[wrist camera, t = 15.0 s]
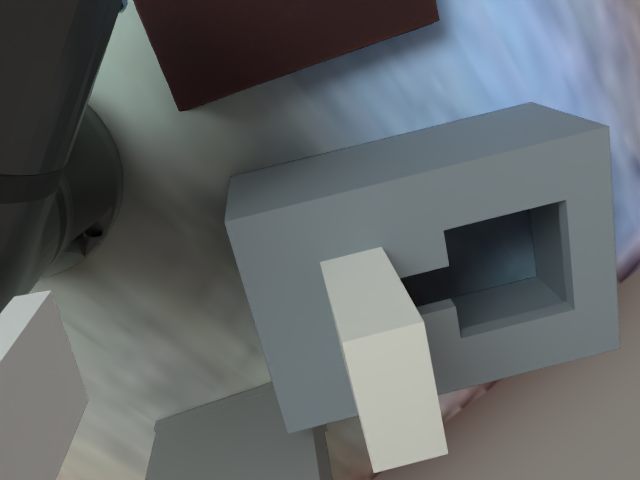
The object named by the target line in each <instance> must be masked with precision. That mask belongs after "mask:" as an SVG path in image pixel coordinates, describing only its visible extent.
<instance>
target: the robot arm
mask: <svg viewBox="0 0 640 480" xmlns="http://www.w3.org/2000/svg"><path fill="white" fill-rule="evenodd" d="M126 6H127V0H0V480H56V478H57V476H58V473H59V471H60V468H61V466H62V463H63V461H64V459H65V456H66V454H67V451H68V449H69V446H70V444H71V442H72V439H73V437H74V434H75V432H76V430H77V427H78V425H79V422H80V420H81V417H82V415H83V413H84V410H85V408H86V405H87V403H88V401H89V399H88V397H87V394H86V391H85V388H84V385H83V382H82V379H81V376H80V373H79V370H78V367H77V364H76V361H75V358H74V355H73V352H72V349H71V346H70V343H69V341H68V338H67V335H66V332H65V329H64V326H63V323H62V320H61V317H60V314H59V311H58V308H57V305H56V302H55V299H54V296H53V293H52V290H49V291H43V292H38V293H32V294H28V293H29V292H30V291H31V289H32V288H33V287H34V286H35V284H36V283H37V282H38V280H39V279H41V278H45V277H48V276H52V275H55V274H57V273H60V272H63V271H65V270H67V269H69V268H71V267H73V266H74V265H76V264H77V263H79V262H80V261H82V260H83V259H84V258H86V257H87V256H88V255H89V254H90V253H91V252H93V251H94V249H95V248H96V247H97V246H98V245H99V244H100V242H101V241H102V240H103V238H104V237H105V235H106V234H107V232H108V231H109V229H110V228H111V226H112V224H113V223H114V221H115V218H116V216H117V214H118V211H119V208H120V204H121V199H122V193H123V173H122V166H121V162H120V157H119V154H118V151H117V148H116V146H115V143H114V141H113V139H112V137H111V135H110V133H109V132H108V130H107V128H106V127H105V125H104V124H103V122H102V121H101V120H100V118H99V117H98V116H97V115H96V114H95V112H94V111H93V110H92V109H91V108H90V107H89V106H88V105H87V104H88V101H89V98H90V95H91V92H92V89H93V86H94V83H95V80H96V77H97V74H98V71H99V69H100V66H101V63H102V60H103V57H104V54H105V51H106V48H107V45H108V42H109V39H110V36H111V33H112V30H113V27H114V25H115V22H116V19H117V16H118V13H119V12H120V13H121V12H123V11H124V10H125V9H126Z"/></svg>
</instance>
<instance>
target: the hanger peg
mask: <svg viewBox="0 0 640 480" xmlns="http://www.w3.org/2000/svg"><path fill="white" fill-rule="evenodd" d="M320 265H321V269H322V273H323V277H324V282H325V286H326V290H327V294H328V298H329V302H330V306H331V310H332V314H333V318H334V322H335V326H336V330H337V334H338V338H339V342H340V347H341V351H342V355H343V359H344V363H345V367H346V371H347V374H348V378H349V382H350V386H351V389H352V393H353V397H354V401H355V404H356V408H357V412H358V416H359V419H360V423H361V427H362V431H363V434H364V438H365V442H366V446H367V449H368V453H369V457H370V461H371V464H372V468H373V472H374V473H376V472H380V471H384V470H388V469H392V468H396V467H399V466H403V465H407V464H411V463H415V462H419V461H423V460H427V459H430V458H434V457H438V456H442V455H445V454H448V450H447V444H446V439H445V433H444V428H443V422H442V417H441V412H440V406H439V401H438V395H437V390H436V384H435V379H434V374H433V368H432V363H431V357H430V352H429V346H428V341H427V336H426V330H425V325H424V321H423V319H422V317H421V316H420V314H419V312H418V310H417V309H416V307H415V305H414V303H413V301H412V300H411V298H410V296H409V294H408V293H407V291H406V289H405V287H404V285H403V284H402V282H401V280H400V278H399V277H398V275H397V273H396V271H395V269H394V268H393V266H392V264H391V262H390V260H389V259H388V257H387V255H386V253H385V252H384V250H383V248H382V247H378V248H374V249H370V250H366V251H362V252H358V253H354V254H350V255H346V256H343V257H339V258H335V259H331V260H327V261H323V262H320Z"/></svg>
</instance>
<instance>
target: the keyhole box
mask: <svg viewBox="0 0 640 480" xmlns="http://www.w3.org/2000/svg"><path fill="white" fill-rule="evenodd" d="M527 209H530V219H531V228H532V238H533V248H534V257H535V267H536V277H532V278H528V279H525V280H521V281H517V282H513V283H509V284H505V285H501V286H497V287H493V288H489V289H485V290H481V291H477V292H473V293H469V294H465V295H461V296H457V297H453V298H450V299H446V300H442V301H438V302H434V303H430V304H426V305H422V306H418V307H416V309H417V310H418V312H419V314H420V316H421V317H422V319H423V321H424V325H425V330H426V336H427V341H428V346H429V352H430V357H431V363H432V368H433V374H434V379H435V384H436V390H437V395H440V394H444V393H448V392H452V391H456V390H460V389H464V388H468V387H472V386H476V385H479V384H483V383H487V382H491V381H495V380H499V379H503V378H507V377H511V376H514V375H518V374H522V373H526V372H530V371H534V370H538V369H542V368H546V367H549V366H554V365H557V364H561V363H565V362H569V361H573V360H577V359H581V358H585V357H588V356H593V355H596V354H600V353H604V352H608V351H612V350H616V349H620V339H619V338H620V337H619V317H618V299H617V298H618V297H617V277H616V257H615V237H614V217H613V197H612V177H611V156H610V136H609V126H606V125H603V124H600V123H597V122H593V121H590V120H587V119H584V118H581V117H577V116H574V115H571V114H568V113H564V112H561V111H558V110H555V109H552V108H548V107H545V106H542V105H539V104H535V103H532V102H530V103H526V104H522V105H518V106H514V107H510V108H506V109H502V110H498V111H494V112H490V113H485V114H481V115H477V116H473V117H469V118H465V119H461V120H457V121H453V122H449V123H445V124H441V125H437V126H433V127H429V128H425V129H421V130H417V131H413V132H409V133H405V134H401V135H397V136H393V137H388V138H384V139H380V140H376V141H372V142H368V143H364V144H360V145H356V146H352V147H348V148H344V149H340V150H336V151H332V152H328V153H324V154H320V155H316V156H312V157H308V158H304V159H300V160H296V161H291V162H287V163H283V164H279V165H275V166H271V167H267V168H263V169H259V170H255V171H251V172H247V173H243V174H239V175H235V176H231V177H230V182H229V190H228V197H227V205H226V212H225V220H224V223H225V226H226V230H227V233H228V236H229V240H230V243H231V246H232V250H233V253H234V256H235V260H236V263H237V266H238V270H239V273H240V276H241V280H242V283H243V286H244V289H245V293H246V296H247V299H248V303H249V306H250V309H251V313H252V316H253V319H254V323H255V326H256V329H257V333H258V336H259V339H260V343H261V346H262V349H263V353H264V356H265V359H266V362H267V366H268V369H269V372H270V376H271V379H272V382H273V386H274V389H275V392H276V396H277V399H278V402H279V406H280V409H281V412H282V416H283V419H284V422H285V426H286V429H287V432H288V433H292V432H296V431H300V430H304V429H308V428H312V427H316V426H319V425H323V424H327V423H331V422H335V421H339V420H343V419H347V418H351V417H355V416H358V412H357V408H356V404H355V401H354V397H353V393H352V389H351V386H350V382H349V378H348V374H347V371H346V367H345V363H344V359H343V355H342V351H341V347H340V342H339V338H338V334H337V330H336V326H335V322H334V318H333V314H332V310H331V306H330V302H329V298H328V294H327V290H326V286H325V282H324V277H323V273H322V269H321V265H320V262H323V261H327V260H331V259H335V258H339V257H343V256H346V255H350V254H354V253H358V252H362V251H366V250H370V249H374V248H378V247H382V248H383V250H384V252H385V253H386V255H387V257H388V259H389V260H390V262H391V264H392V266H393V268H394V269H395V271H396V273H397V275H398V277H399V278H403V277H407V276H411V275H415V274H419V273H423V272H427V271H431V270H435V269H439V268H443V267H447V266H449V261H448V255H447V249H446V243H445V236H444V230H447V229H451V228H455V227H459V226H463V225H467V224H471V223H475V222H479V221H483V220H487V219H491V218H495V217H499V216H503V215H507V214H511V213H515V212H519V211H523V210H527Z"/></svg>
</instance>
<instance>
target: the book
mask: <svg viewBox="0 0 640 480" xmlns="http://www.w3.org/2000/svg"><path fill="white" fill-rule="evenodd" d="M133 1H134V4H135V7H136V10H137V12H138V14H139V16H140V19H141V21H142V23H143V26H144V28H145V31H146V33H147V36H148V38H149V41H150V43H151V46H152V48H153V50H154V52H155V54H156V57H157V59H158V62H159V64H160V67H161V69H162V72H163V74H164V76H165V78H166V81H167V83H168V85H169V88H170V90H171V93H172V95H173V98H174V101H175V103H176V105H177V108H178V110H179V111H187V110H190V109H193V108H195V107H198V106H200V105H204V104H206V103H209V102H212V101H215V100H217V99H220V98H223V97H225V96H228V95H231V94H234V93H236V92H239V91H242V90H245V89H247V88H250V87H253V86H256V85H259V84H261V83H264V82H267V81H270V80H273V79H276V78H279V77H282V76H284V75H287V74H290V73H293V72H296V71H298V70H301V69H304V68H306V67H309V66H312V65H315V64H318V63H320V62H323V61H326V60H329V59H332V58H335V57H338V56H341V55H344V54H347V53H349V52H352V51H355V50H358V49H361V48H364V47H366V46H369V45H372V44H375V43H378V42H380V41H383V40H386V39H389V38H392V37H395V36H398V35H401V34H404V33H407V32H410V31H413V30H416V29H419V28H421V27H424V26H427V25H429V24H432V23H434V22H436V21H438V20H439V16H438V10H437V5H436V0H133Z"/></svg>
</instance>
